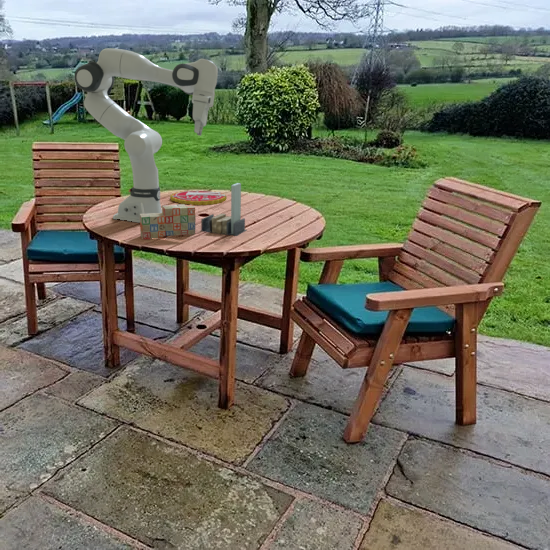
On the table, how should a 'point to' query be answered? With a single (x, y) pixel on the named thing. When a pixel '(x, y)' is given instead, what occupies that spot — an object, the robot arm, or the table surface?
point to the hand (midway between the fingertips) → (197, 134)
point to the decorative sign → (198, 197)
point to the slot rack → (237, 226)
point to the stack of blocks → (168, 222)
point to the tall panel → (235, 204)
